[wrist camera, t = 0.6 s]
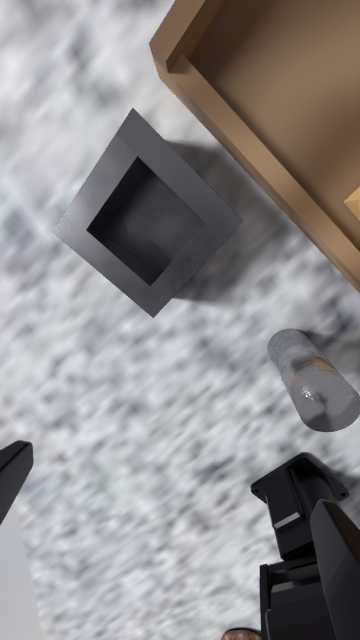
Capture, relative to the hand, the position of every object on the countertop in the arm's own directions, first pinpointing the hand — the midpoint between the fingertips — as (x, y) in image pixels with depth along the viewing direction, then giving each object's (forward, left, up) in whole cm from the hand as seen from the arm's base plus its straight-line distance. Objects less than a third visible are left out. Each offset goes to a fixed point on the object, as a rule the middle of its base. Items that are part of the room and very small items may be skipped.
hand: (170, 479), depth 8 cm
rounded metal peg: (-7, -4, -13) cm, 15 cm away
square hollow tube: (+6, -4, -13) cm, 15 cm away
